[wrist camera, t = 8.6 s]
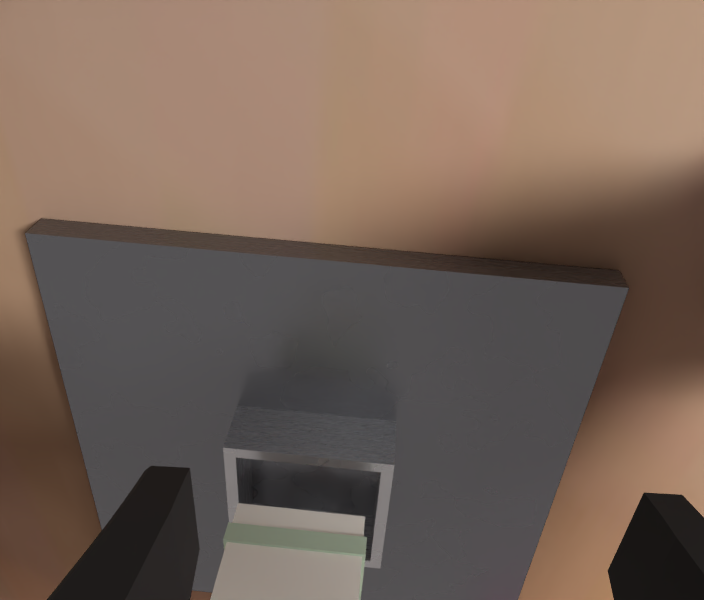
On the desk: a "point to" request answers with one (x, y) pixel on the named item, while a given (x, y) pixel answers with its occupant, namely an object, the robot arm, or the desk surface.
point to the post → (291, 555)
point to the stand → (331, 388)
